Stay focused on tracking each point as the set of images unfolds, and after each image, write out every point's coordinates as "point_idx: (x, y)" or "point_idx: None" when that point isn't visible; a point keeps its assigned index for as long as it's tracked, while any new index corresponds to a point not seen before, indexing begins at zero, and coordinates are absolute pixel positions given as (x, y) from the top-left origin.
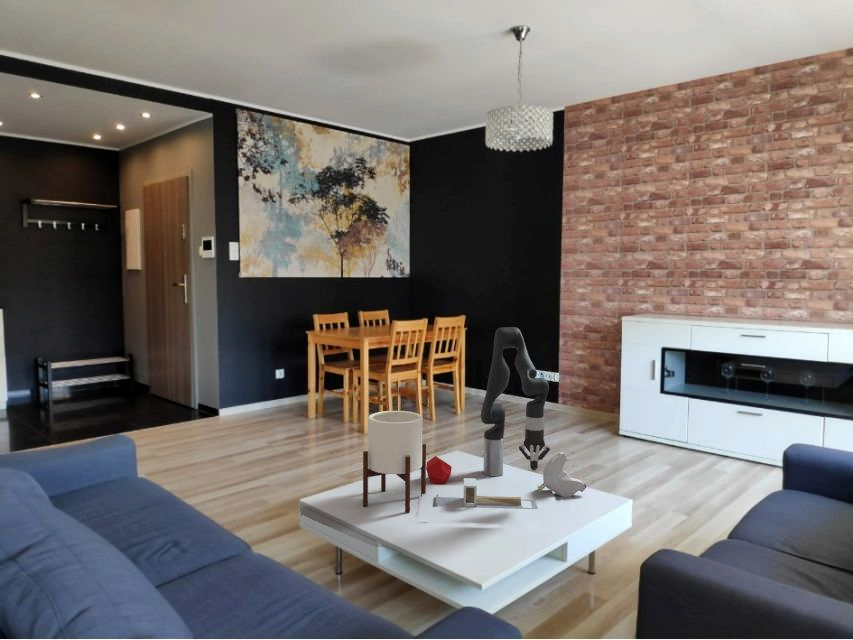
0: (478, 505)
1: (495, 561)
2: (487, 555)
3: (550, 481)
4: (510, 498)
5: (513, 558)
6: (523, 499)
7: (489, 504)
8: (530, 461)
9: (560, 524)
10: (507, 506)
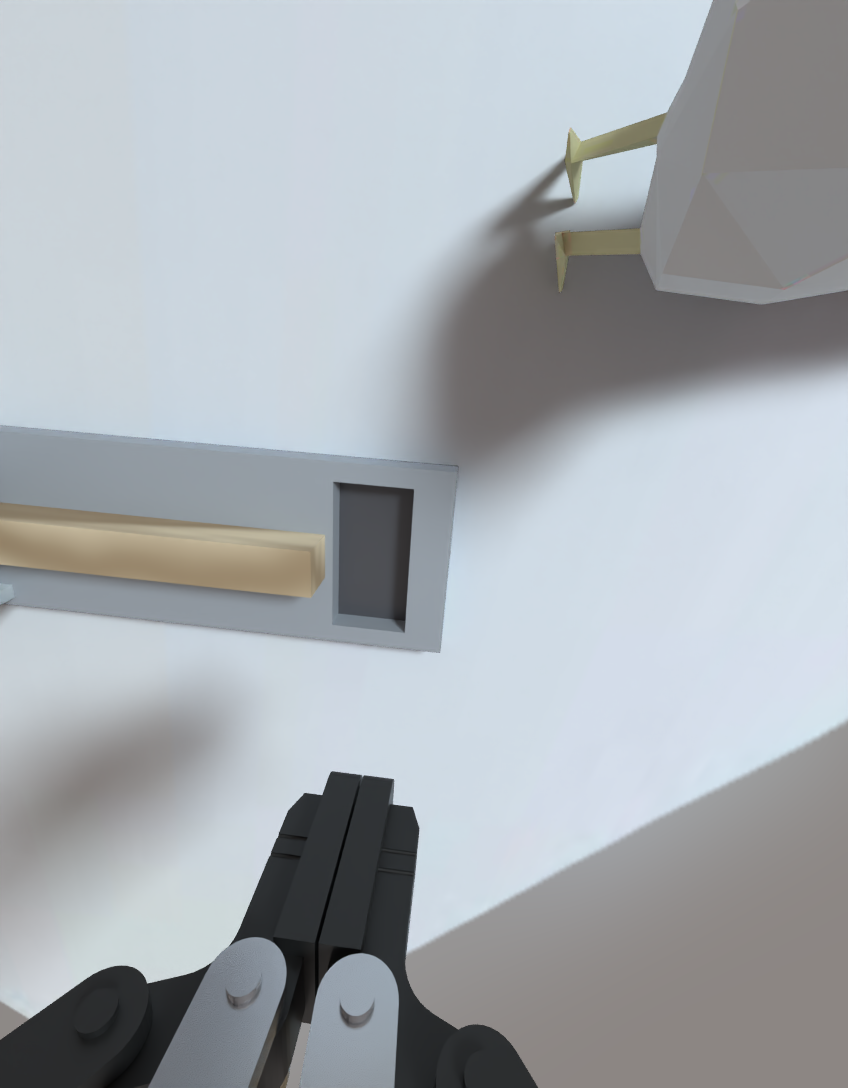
0: (25, 575)
1: None
2: None
3: (715, 294)
4: (225, 581)
5: None
6: (359, 464)
7: None
8: (248, 931)
9: (535, 795)
10: (225, 600)
